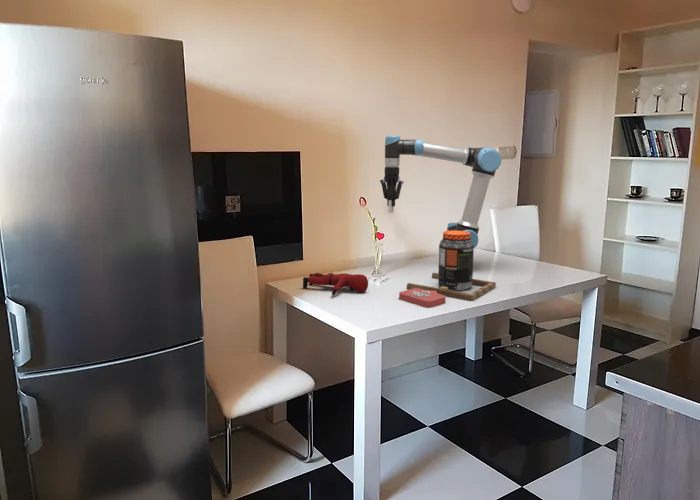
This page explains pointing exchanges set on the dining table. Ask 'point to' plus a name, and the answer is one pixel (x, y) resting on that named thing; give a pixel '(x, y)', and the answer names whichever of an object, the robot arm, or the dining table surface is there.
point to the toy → (338, 281)
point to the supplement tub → (456, 260)
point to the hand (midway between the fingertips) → (391, 212)
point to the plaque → (422, 297)
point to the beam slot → (485, 288)
